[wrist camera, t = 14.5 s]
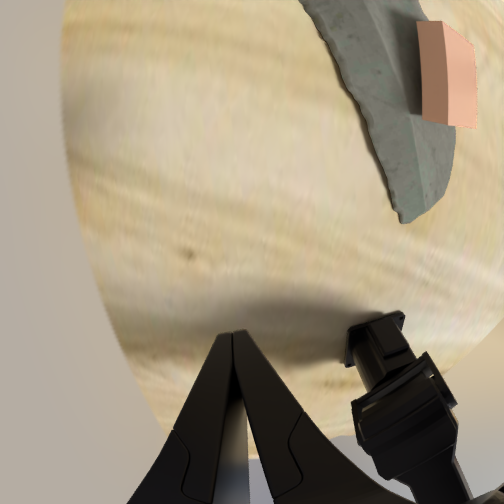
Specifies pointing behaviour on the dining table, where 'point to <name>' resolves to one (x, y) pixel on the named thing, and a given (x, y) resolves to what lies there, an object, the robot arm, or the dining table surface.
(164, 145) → the dining table surface
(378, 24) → the stone slab
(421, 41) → the block
